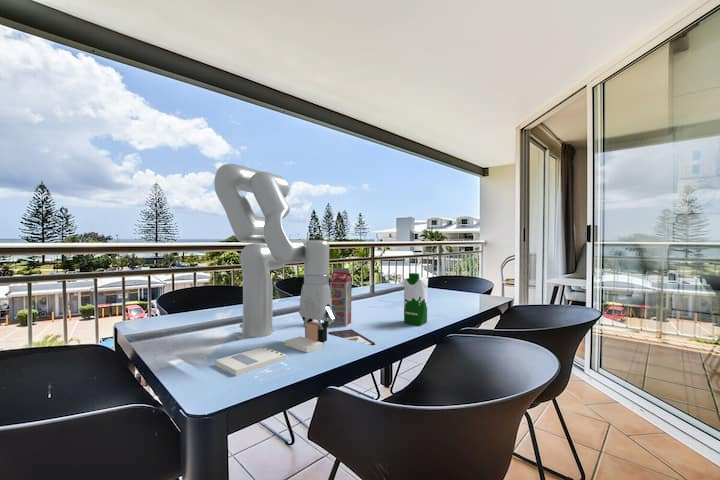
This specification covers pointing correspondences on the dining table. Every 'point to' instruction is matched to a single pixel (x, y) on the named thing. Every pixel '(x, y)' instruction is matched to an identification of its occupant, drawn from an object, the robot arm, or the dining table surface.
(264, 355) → the cream flat block
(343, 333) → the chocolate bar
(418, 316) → the milk carton
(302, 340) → the stub
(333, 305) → the juice carton
